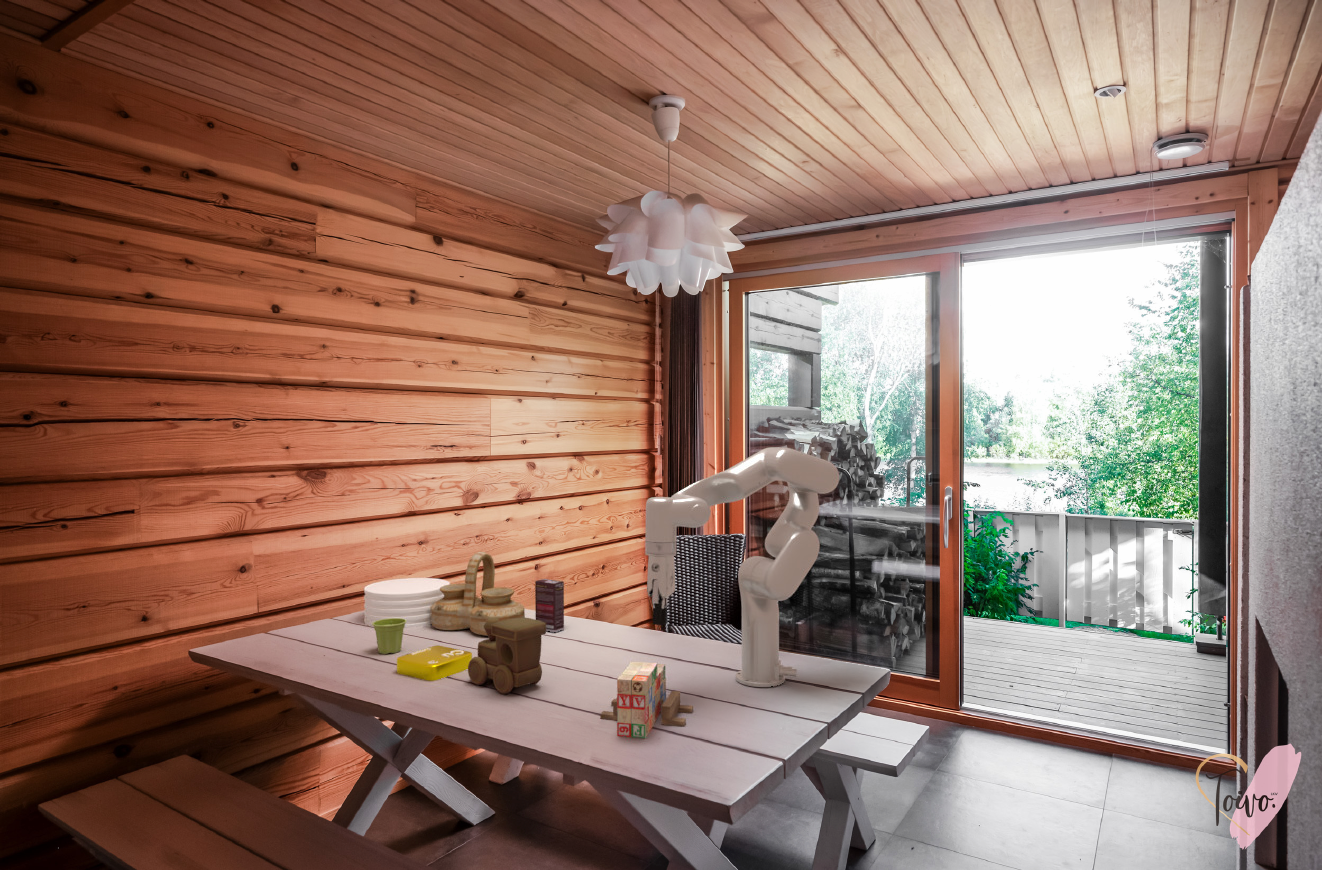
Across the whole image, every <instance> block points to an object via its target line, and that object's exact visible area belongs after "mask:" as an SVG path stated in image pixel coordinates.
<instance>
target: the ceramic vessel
mask: <svg viewBox="0 0 1322 870" xmlns="http://www.w3.org/2000/svg"><path fill="white" fill-rule="evenodd" d="M481 562H482V566H483V567H482V569H483V570H482V573H483V574H482V585H481V591H480V596H481V598H480V597H479V596H478V595H476V594H477V578H478V577H477V575H478V570H479V567H480V564H481ZM467 563H468V564H467V566H466V570H465V577H464V583H463V582H461V583H450V584H449V585H445V586H442V587H441V588H440V591H441V592H442V593H443V594H444V597H443V598H442V599H440V600H438V601H436V602H435V603H434V604H433V605H431V607H430V609H431V623H432V625H431V626H433V628H435V629H438V630H442V631H458V630H467V629H470V631H471V632H473V633H474V634H476V635H480V636H481V635H482V636H486V637H488V635H487V633H486V631H485V629H484V625H485V623H486V621H487V620H488V618H497V619H498V620H499V621H503V620H507V619H512V618H519V617H524V618H526V617H525V616H526V614H525V606H523V604H522V603H520V602H518V601H515V599H513V600H512V599H511V598H512V596H513V595H514V594H515V589H513V588H511V587H501V586H500V587H495V575H496V574H495V573H496V571H495V563H494V559H493V557H492V555H491V554H490V553H487V552H485V551H478V552H475V553H474V554H473V555H472V556H471V557H470V558H469V561H468V562H467Z"/></svg>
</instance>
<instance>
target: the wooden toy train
mask: <svg viewBox="0 0 1322 870" xmlns="http://www.w3.org/2000/svg"><path fill="white" fill-rule="evenodd" d="M484 629H485V631H486V633H487V635H488V636H487V639H484V640H481V641H479V642H478V644H477V656H474V657H472V659H471V660H470V662H469V665H468V670H467V674H468V678H469V679H470V681H471V682H472V683H473V684H475V685H478V686H481V685H483V684H484V683H485V682H486V681H487V678H488V679H491V680H492V681H493V685H494V687H495V689H496V690H497V691H498V692H499V693H500V694H503V695H504V694H505V695H507V694H510V693H511V691H512V690H513V688H519V687H522V686H526V685H534V686H536V685H537V684H538V683H539V682H540V681H541V680H542V676H543V669H542V665H541V663H540V661H541V655H542V653H541V652H542V635H545V634H547V631H546V623H545V622H542V621H539V620H536V618H535V619H534V618H530V617H525V618H524V617H519V618H512V619H507V620H503V621H499V620H498V619H497V618H488V620H487V621H486V623H485V625H484Z"/></svg>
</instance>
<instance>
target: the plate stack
mask: <svg viewBox="0 0 1322 870" xmlns="http://www.w3.org/2000/svg"><path fill="white" fill-rule="evenodd" d="M449 584H451V582H450V581H448V580H446V579H441V578H436V577H435V578H432V577H408V578H407V577H406V578H396V579H387V580H382V581H377V582H373V583H370V584H368V585H366V586H364V589H363V591H364V592H363V593H364V595H363V599H364V603H363V606H364V610H363V613H364V614H363V615H364V619H363V620H364V621H363V622H364V624H365V625H366V626H370V627H373V628H374V626H373V625H372V623H373V622H375V621H378V620H382V619H389V618H401V619H405V620H406V623H405V627H404V629H412V628H419V627H427V626H431V625H430V624H432V623H431V609H430V607H431V605H433V604H434V603H435V602H436V601H438V600H440V599H442V598H443V597H444V594H443V593H442V592H441V591H440V588H441V587H442V586H445V585H449Z"/></svg>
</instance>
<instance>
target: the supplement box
mask: <svg viewBox="0 0 1322 870" xmlns="http://www.w3.org/2000/svg"><path fill="white" fill-rule="evenodd" d="M564 582H565V581H564V580H556V579H547V578H542V579H541V578H540V579H538V580H535V583H534V585H535V587H534V590H535V591H534V592H535V593H534V597H535V604H534V605H535V620H539V621H542V622H545V623H546V632H548V631H550V632H549V633H554V632H556V633H559V632H561V631H560V630H562V631H564V630H565V592H564V591H565V589H564V588H565V583H564ZM558 631H559V632H558Z"/></svg>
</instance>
